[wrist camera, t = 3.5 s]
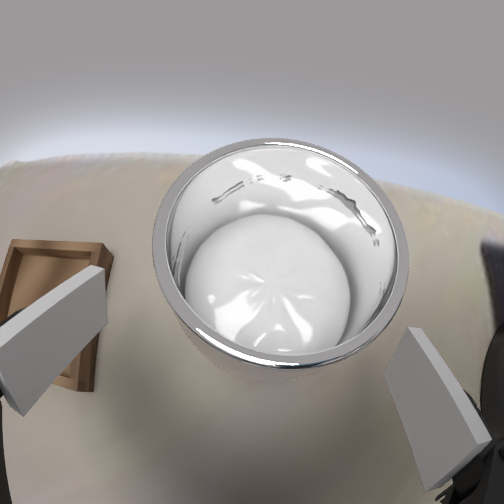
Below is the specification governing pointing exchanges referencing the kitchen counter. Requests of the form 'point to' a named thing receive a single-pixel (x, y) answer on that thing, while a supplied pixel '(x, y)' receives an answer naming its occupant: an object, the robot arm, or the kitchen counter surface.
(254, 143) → the beer glass
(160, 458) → the kitchen counter surface
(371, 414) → the kitchen counter surface
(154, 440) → the kitchen counter surface
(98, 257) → the tray
